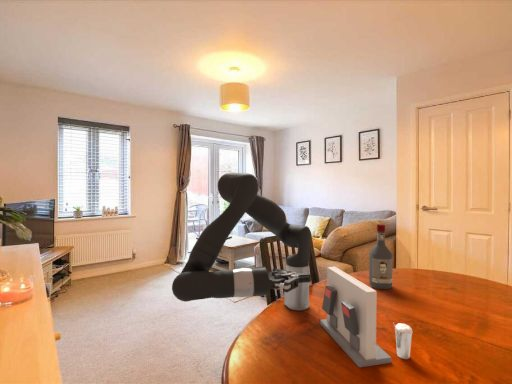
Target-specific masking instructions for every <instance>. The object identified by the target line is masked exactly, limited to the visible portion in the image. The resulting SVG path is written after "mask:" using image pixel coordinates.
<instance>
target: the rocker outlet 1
mask: <svg viewBox="0 0 512 384" xmlns="http://www.w3.org/2000/svg"><path fill="white" fill-rule="evenodd" d="M336 294H337V291H336V290H335V289H333V288H332V287H331V286H327V285H325V289H324V294H323V300H322V301H323V302H322V305H321V309H322V310H323V311H324V312H325V313H326V315H327V314H328V315H333V312H334V306H335V300H336Z"/></svg>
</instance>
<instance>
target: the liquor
mask: <svg viewBox="0 0 512 384" xmlns="http://www.w3.org/2000/svg"><path fill="white" fill-rule="evenodd" d="M385 232H386V224H383V223H382V224H381V223H379V224H376V244H375V245H374V246H373V247H372V248H371V249H370V250H369V255H368V256H369V257H368V258H369V259H368V260H369V261H368V263H369V265H368V266H369V267H368V269H369V270H368V271H369V273H368V274H369V275H368V280H369V284H370V285H371V288H372V289H373V288H374V289H377V290H390V289H392V287H393V254H392V251H390V249H389V247H387V245H386V243H385V239H386V238H385V236H386V235H385Z"/></svg>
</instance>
